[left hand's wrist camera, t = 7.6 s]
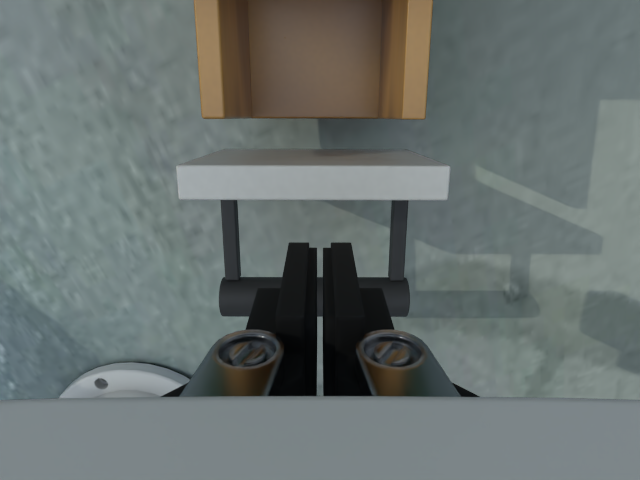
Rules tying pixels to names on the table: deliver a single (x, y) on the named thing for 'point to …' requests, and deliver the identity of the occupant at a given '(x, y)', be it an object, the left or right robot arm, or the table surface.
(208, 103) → the drawer
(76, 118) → the table surface
